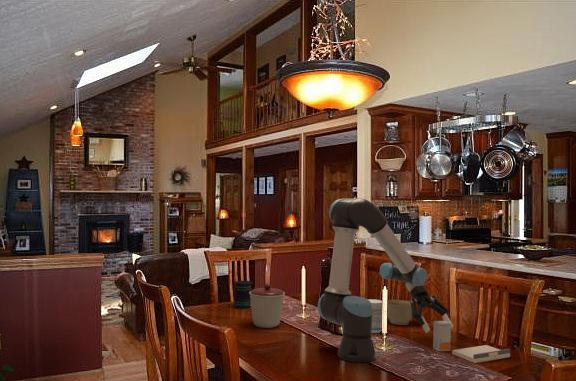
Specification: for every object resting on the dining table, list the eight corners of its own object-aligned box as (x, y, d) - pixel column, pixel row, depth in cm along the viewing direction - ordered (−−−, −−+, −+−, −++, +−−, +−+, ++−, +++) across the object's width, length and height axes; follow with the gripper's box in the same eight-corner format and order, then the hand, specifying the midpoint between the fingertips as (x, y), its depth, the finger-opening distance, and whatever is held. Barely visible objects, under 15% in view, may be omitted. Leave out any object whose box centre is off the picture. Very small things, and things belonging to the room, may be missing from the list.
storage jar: (254, 307, 278) (254, 281, 278) (244, 310, 269) (244, 283, 270) (240, 304, 283) (241, 280, 283) (230, 307, 275) (231, 282, 275)
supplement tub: (387, 332, 229) (387, 301, 229) (372, 334, 224) (373, 303, 224) (373, 327, 237) (373, 298, 238) (359, 330, 232) (359, 300, 232)
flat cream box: (475, 363, 186) (475, 355, 186) (452, 354, 197) (452, 346, 197) (510, 357, 195) (510, 349, 195) (486, 348, 206) (486, 341, 206)
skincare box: (438, 351, 200) (438, 323, 200) (432, 348, 204) (433, 321, 204) (450, 351, 201) (451, 322, 202) (445, 348, 205) (445, 320, 206)
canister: (243, 328, 230) (244, 285, 230) (254, 319, 247) (255, 279, 248) (279, 331, 225) (280, 287, 226) (288, 322, 243) (289, 281, 243)
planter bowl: (421, 326, 243) (422, 304, 243) (395, 328, 237) (395, 306, 237) (403, 318, 258) (403, 298, 258) (378, 320, 252) (378, 300, 252)
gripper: (432, 291, 227) (456, 331, 214) (391, 295, 216) (413, 337, 203) (441, 282, 223) (465, 322, 209) (399, 286, 212) (422, 328, 198)
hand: (439, 329), depth 206 cm, fingers open, 13 cm apart
